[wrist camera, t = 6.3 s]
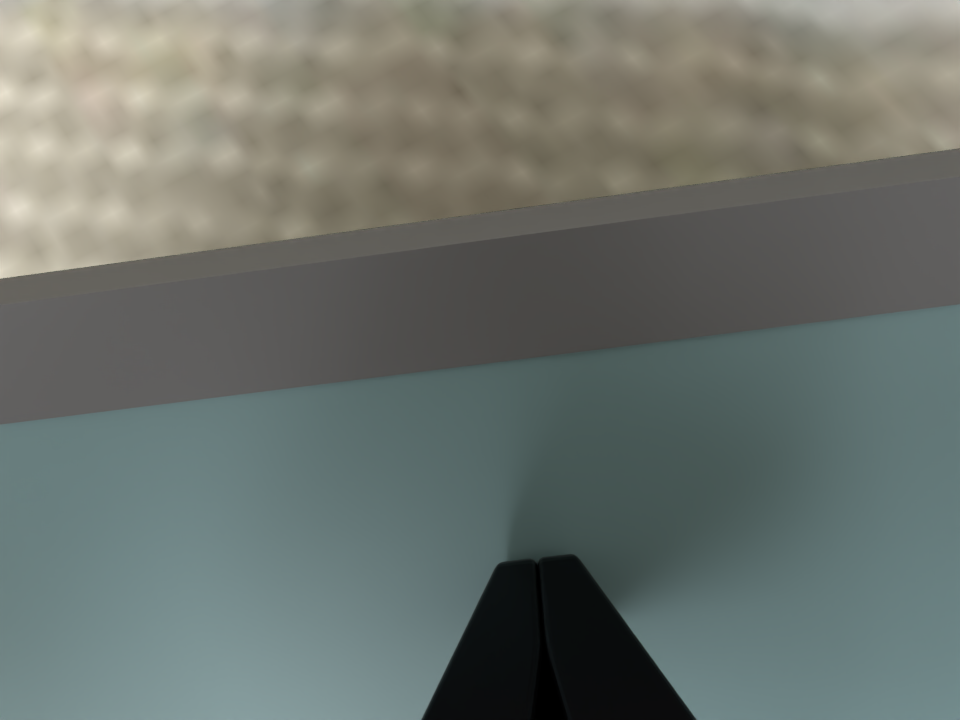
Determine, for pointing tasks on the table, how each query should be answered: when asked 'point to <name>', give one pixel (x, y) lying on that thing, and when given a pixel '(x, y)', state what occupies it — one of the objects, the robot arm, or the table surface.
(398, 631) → the panel
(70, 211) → the table surface
